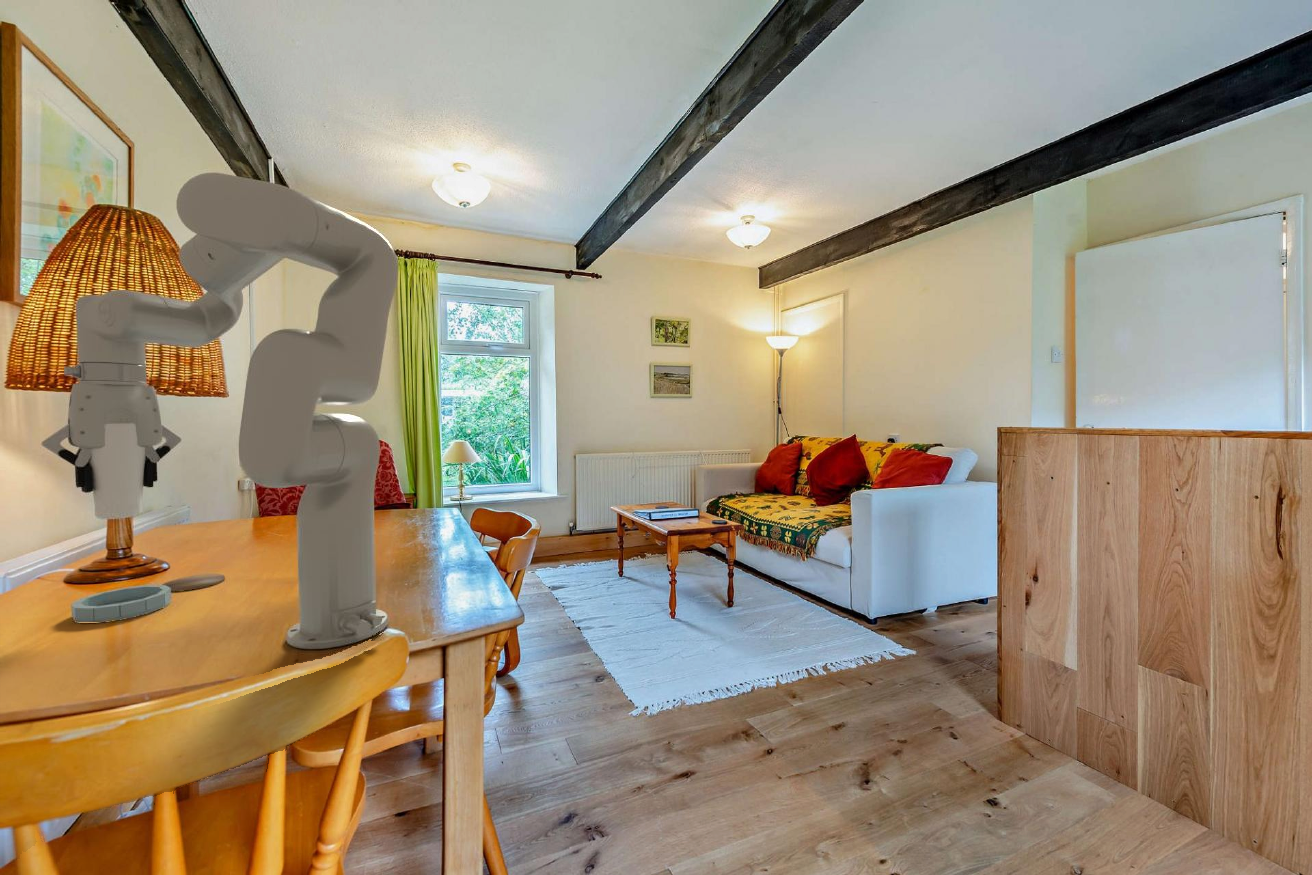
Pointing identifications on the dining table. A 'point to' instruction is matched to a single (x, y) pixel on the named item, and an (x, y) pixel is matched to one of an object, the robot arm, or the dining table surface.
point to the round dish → (121, 603)
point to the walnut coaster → (195, 582)
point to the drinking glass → (118, 473)
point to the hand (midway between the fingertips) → (118, 488)
